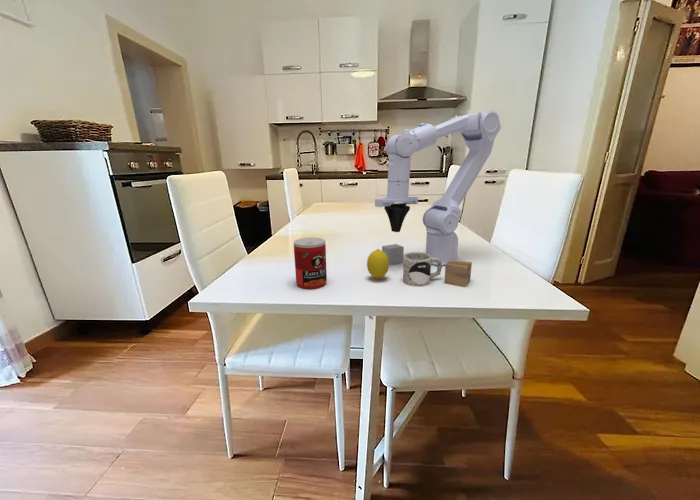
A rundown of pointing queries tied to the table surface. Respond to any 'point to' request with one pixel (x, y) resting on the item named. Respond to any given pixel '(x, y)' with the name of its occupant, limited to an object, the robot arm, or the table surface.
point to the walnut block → (457, 272)
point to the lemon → (377, 263)
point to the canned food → (310, 262)
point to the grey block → (394, 253)
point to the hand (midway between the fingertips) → (395, 231)
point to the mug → (419, 269)
